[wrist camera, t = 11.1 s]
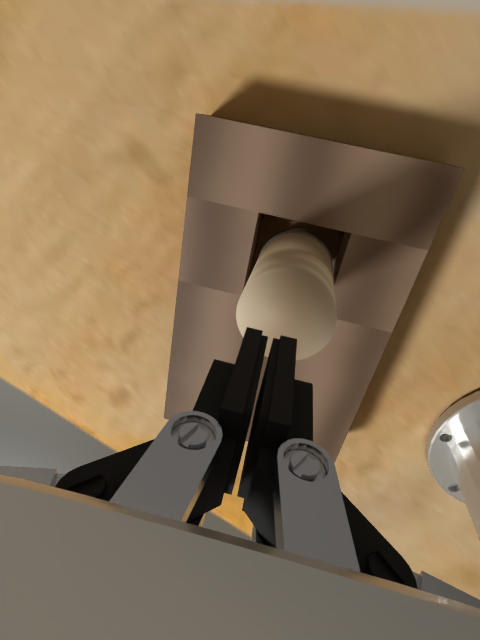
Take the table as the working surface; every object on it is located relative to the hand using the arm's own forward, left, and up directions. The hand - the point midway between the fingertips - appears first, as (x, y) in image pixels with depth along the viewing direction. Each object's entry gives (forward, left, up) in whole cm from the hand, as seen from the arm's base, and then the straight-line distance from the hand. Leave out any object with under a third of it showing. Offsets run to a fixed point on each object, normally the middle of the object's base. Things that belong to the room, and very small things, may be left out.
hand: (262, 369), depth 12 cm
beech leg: (-1, 0, -15) cm, 15 cm away
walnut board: (0, +4, -15) cm, 15 cm away
